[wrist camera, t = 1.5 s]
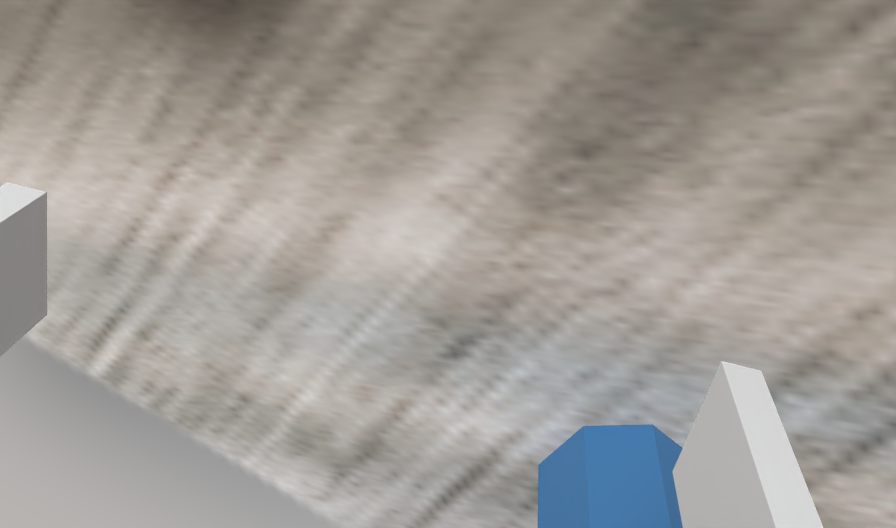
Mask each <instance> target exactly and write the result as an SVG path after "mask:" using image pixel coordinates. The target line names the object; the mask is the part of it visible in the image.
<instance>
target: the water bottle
mask: <svg viewBox="0 0 896 528" xmlns="http://www.w3.org/2000/svg"><path fill="white" fill-rule="evenodd" d="M682 449H683V448H681V447H680V446H679V445H678V444H676V443H675V442H674V441H672V440H671V439H670V438H669V437H667V436H666V435H665V434H663V433H662V432H661V431H660V430H658V429H657V428H656V427H654V426H653V425H623V426H583V427H582V428H581V429H580V430H579V431H578V432H577V433H575V434H574V435H573V436H572V437H571V438H570V439H568V440H567V441H566V442H565V443H564V444H563V445H561V446H560V447H559V448H558V449H557V450H556V451H555V452H553V453H552V454H551V455H550V456H549V457H548V458H546V459H545V460H544V461H543V462H542V463H541V464H539V479H538V528H683V525H682V520H681V515H680V509H679V504H678V499H677V493H676V488H675V483H674V478H673V472H672V471H673V469H674V467H675V465H676V462H677V460H678V458H679V455H680V453H681V451H682Z"/></svg>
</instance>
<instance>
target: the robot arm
mask: <svg viewBox="0 0 896 528" xmlns="http://www.w3.org/2000/svg"><path fill="white" fill-rule="evenodd" d="M46 315H47V192H44V191H40V190H36V189H32V188H28V187H24V186H20V185H16V184H12V183H8V182H7V183H6V184H4V185H2V186H1V187H0V356H1V355H2V354H4V353H5V352H6V351H7V350H8V349H9V348H10V347H11V346H13V345H14V344H15V343H16V342H17V341H18V340H19V339H20V338H22V337H23V336H24V335H25V334H26V333H27V332H28V331H29V330H30V329H32V328H33V327H34V326H35V325H36V324H37V323H38V322H39V321H40V320H42V319H43V318H44V317H45V316H46ZM672 472H673V478H674V483H675V488H676V493H677V499H678V504H679V509H680V515H681V520H682V525H683V528H823V526H822V523H821V521H820V518H819V516H818V513H817V511H816V508H815V505H814V503H813V500H812V498H811V495H810V493H809V490H808V488H807V485H806V483H805V480H804V478H803V475H802V473H801V470H800V468H799V465H798V463H797V460H796V458H795V455H794V453H793V450H792V448H791V445H790V443H789V440H788V438H787V435H786V432H785V430H784V427H783V425H782V422H781V420H780V417H779V415H778V412H777V410H776V407H775V405H774V402H773V400H772V397H771V395H770V392H769V390H768V387H767V385H766V382H765V380H764V377H763V375H762V372H761V371H760V370H756V369H752V368H748V367H744V366H740V365H736V364H732V363H728V362H724V361H721V363H720V365H719V367H718V370H717V372H716V374H715V376H714V379H713V381H712V383H711V385H710V388H709V390H708V392H707V395H706V397H705V399H704V401H703V404H702V406H701V408H700V410H699V413H698V415H697V417H696V419H695V422H694V424H693V426H692V428H691V431H690V433H689V435H688V437H687V440H686V442H685V444H684V446H683V449H682V451H681V453H680V455H679V458H678V460H677V462H676V465H675V467H674V469H673V471H672Z"/></svg>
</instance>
